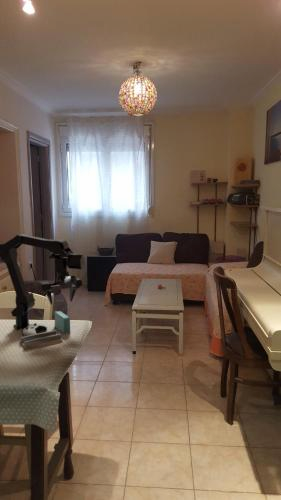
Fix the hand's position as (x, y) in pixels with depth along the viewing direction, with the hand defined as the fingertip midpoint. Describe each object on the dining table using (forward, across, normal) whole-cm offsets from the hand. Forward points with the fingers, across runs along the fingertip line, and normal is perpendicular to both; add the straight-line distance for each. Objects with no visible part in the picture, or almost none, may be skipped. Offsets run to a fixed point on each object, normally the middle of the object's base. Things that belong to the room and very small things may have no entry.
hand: (61, 303), depth 163 cm
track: (+12, -12, -9) cm, 20 cm away
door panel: (+12, 0, 0) cm, 13 cm away
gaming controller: (+13, -12, +2) cm, 18 cm away
